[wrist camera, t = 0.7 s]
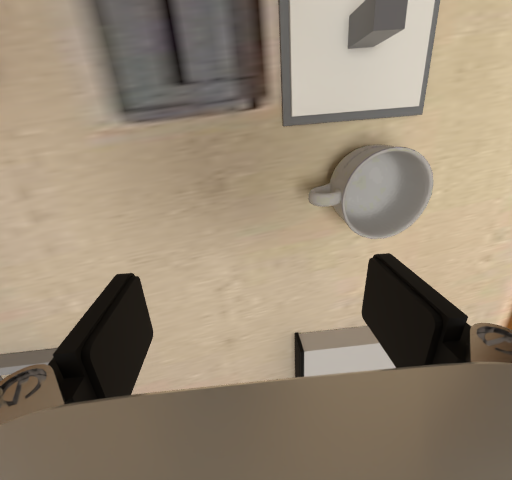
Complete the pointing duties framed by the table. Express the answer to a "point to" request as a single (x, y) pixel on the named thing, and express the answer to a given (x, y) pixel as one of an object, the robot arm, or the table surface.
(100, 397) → the robot arm
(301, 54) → the square lid with handle
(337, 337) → the disc drive
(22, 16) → the table surface
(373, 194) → the teacup
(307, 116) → the mat
